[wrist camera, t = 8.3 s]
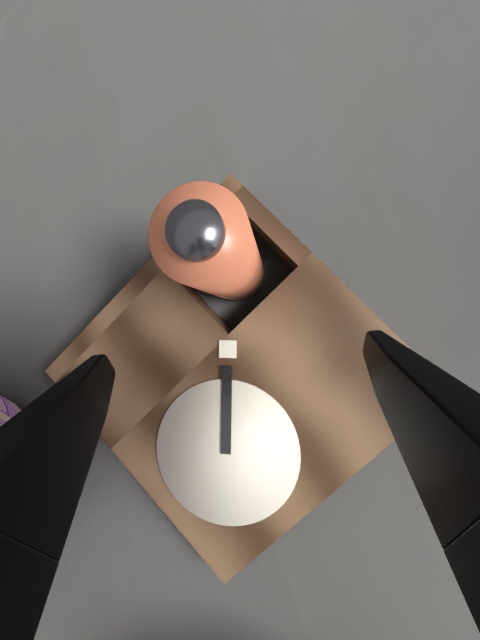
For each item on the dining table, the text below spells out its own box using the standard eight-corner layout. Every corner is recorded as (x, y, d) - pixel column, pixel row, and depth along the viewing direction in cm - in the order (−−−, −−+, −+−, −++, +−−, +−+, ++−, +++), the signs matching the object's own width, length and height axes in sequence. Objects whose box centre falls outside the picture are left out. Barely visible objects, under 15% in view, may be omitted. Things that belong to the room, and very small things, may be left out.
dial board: (230, 553, 22) (223, 588, 19) (69, 365, 24) (41, 371, 21) (431, 381, 20) (456, 391, 17) (236, 190, 22) (229, 171, 19)
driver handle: (255, 307, 21) (232, 295, 11) (201, 293, 22) (130, 270, 11) (270, 251, 21) (260, 184, 11) (215, 238, 22) (155, 164, 11)
